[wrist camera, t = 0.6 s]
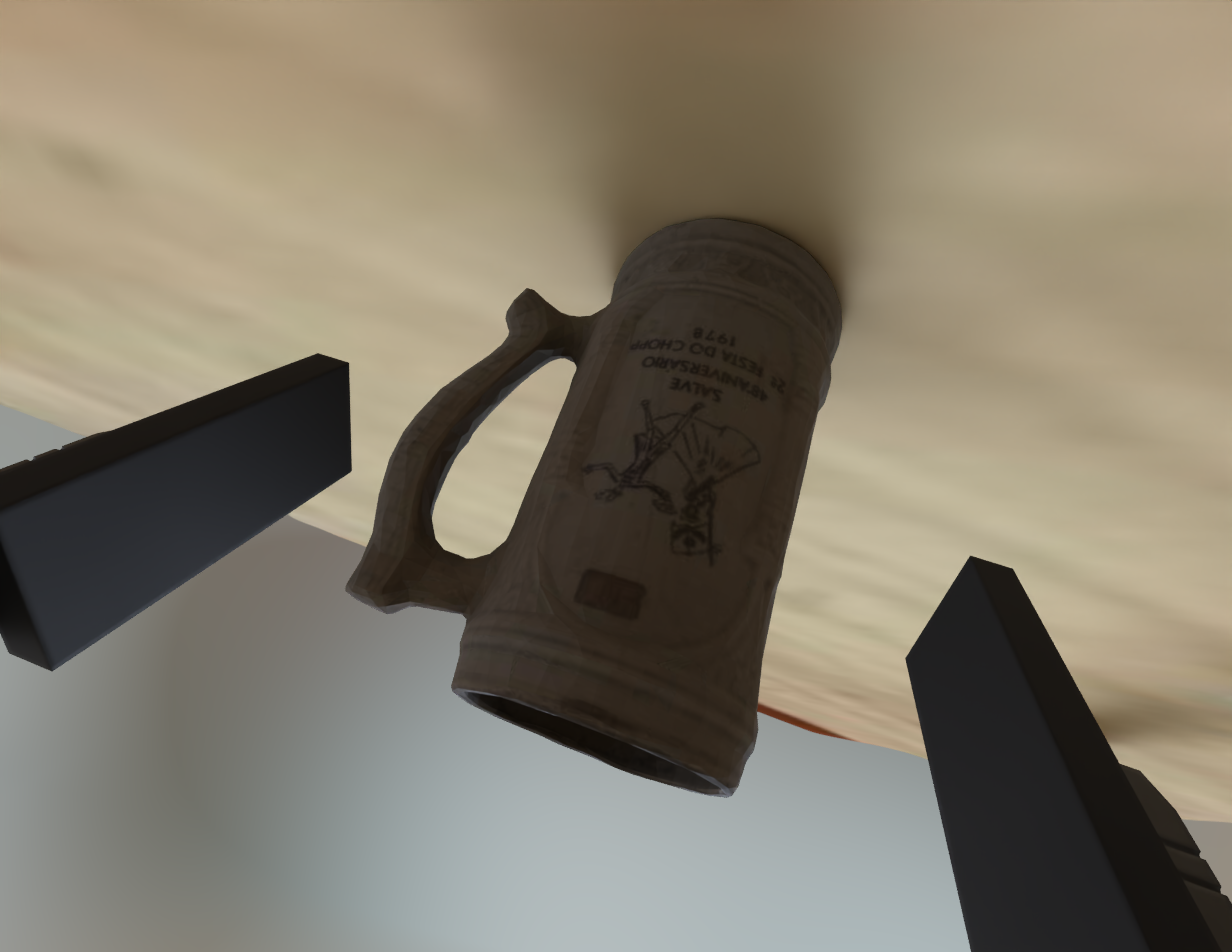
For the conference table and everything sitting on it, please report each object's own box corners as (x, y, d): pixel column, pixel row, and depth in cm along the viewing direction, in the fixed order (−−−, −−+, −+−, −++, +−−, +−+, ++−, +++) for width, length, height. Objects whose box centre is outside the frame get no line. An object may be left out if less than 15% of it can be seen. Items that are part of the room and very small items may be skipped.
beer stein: (905, 255, 23) (783, 818, 13) (815, 418, 32) (705, 818, 22) (539, 156, 25) (213, 571, 16) (554, 334, 34) (356, 662, 25)
